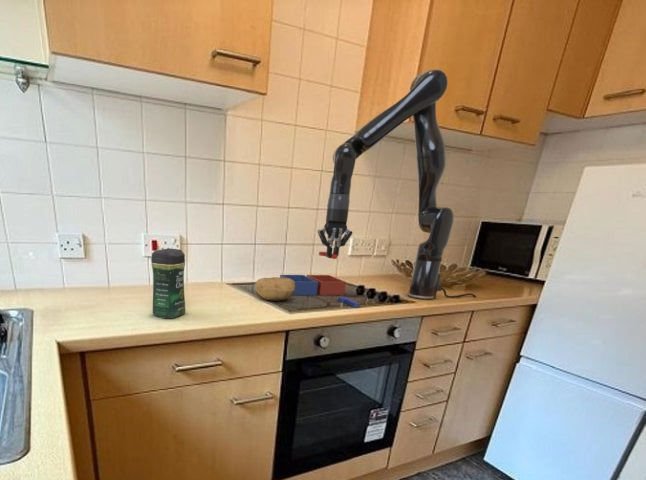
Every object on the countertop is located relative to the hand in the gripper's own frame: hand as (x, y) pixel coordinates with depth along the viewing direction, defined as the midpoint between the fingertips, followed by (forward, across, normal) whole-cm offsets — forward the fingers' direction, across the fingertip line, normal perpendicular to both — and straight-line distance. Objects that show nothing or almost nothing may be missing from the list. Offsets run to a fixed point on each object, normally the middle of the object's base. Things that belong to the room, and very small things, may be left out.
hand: (332, 257), depth 150 cm
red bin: (+14, +2, +7) cm, 16 cm away
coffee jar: (+14, -62, -25) cm, 68 cm away
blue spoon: (+14, +2, -14) cm, 20 cm away
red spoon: (0, 0, +4) cm, 4 cm away
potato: (+14, -24, -9) cm, 30 cm away
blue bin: (+14, -10, +7) cm, 18 cm away
